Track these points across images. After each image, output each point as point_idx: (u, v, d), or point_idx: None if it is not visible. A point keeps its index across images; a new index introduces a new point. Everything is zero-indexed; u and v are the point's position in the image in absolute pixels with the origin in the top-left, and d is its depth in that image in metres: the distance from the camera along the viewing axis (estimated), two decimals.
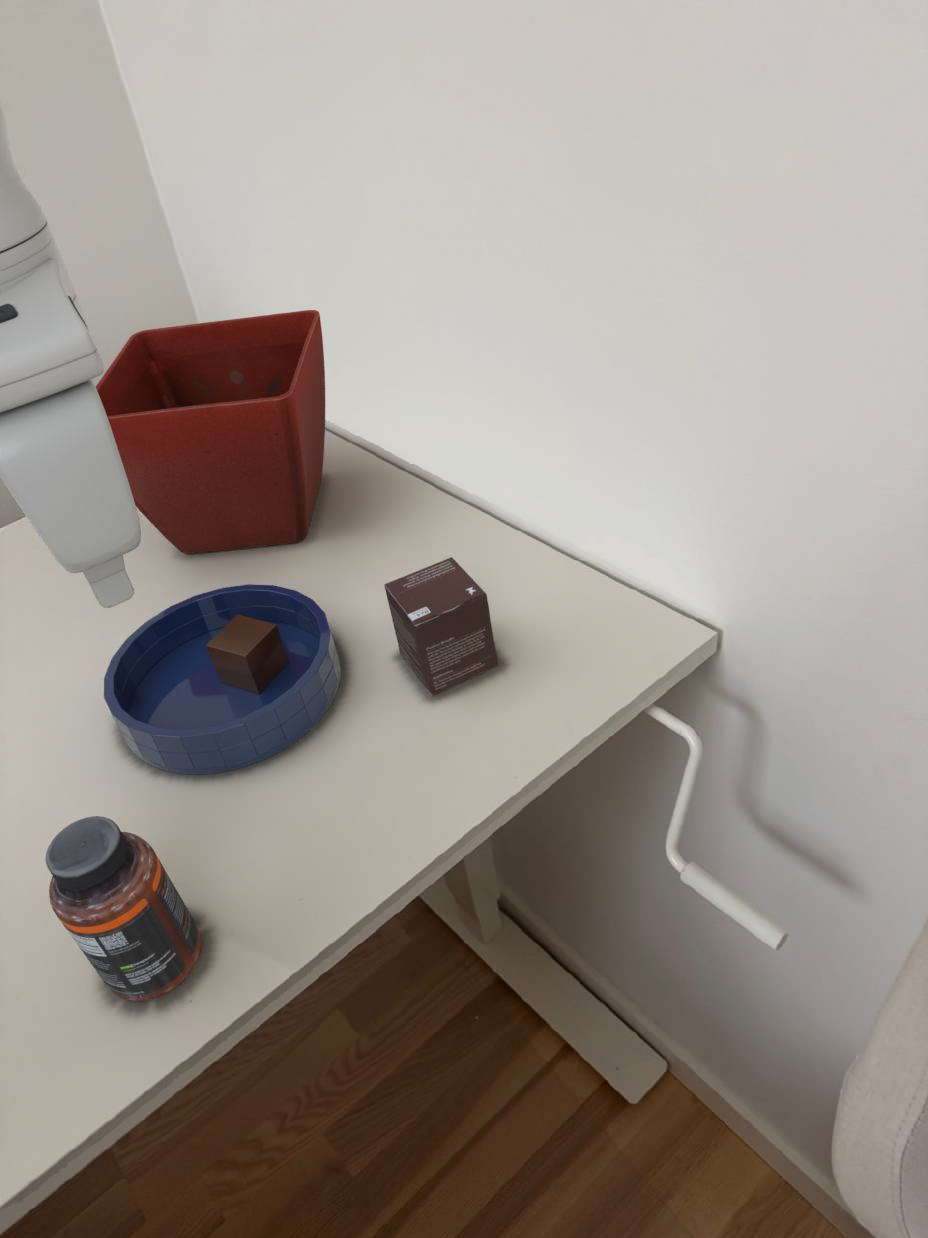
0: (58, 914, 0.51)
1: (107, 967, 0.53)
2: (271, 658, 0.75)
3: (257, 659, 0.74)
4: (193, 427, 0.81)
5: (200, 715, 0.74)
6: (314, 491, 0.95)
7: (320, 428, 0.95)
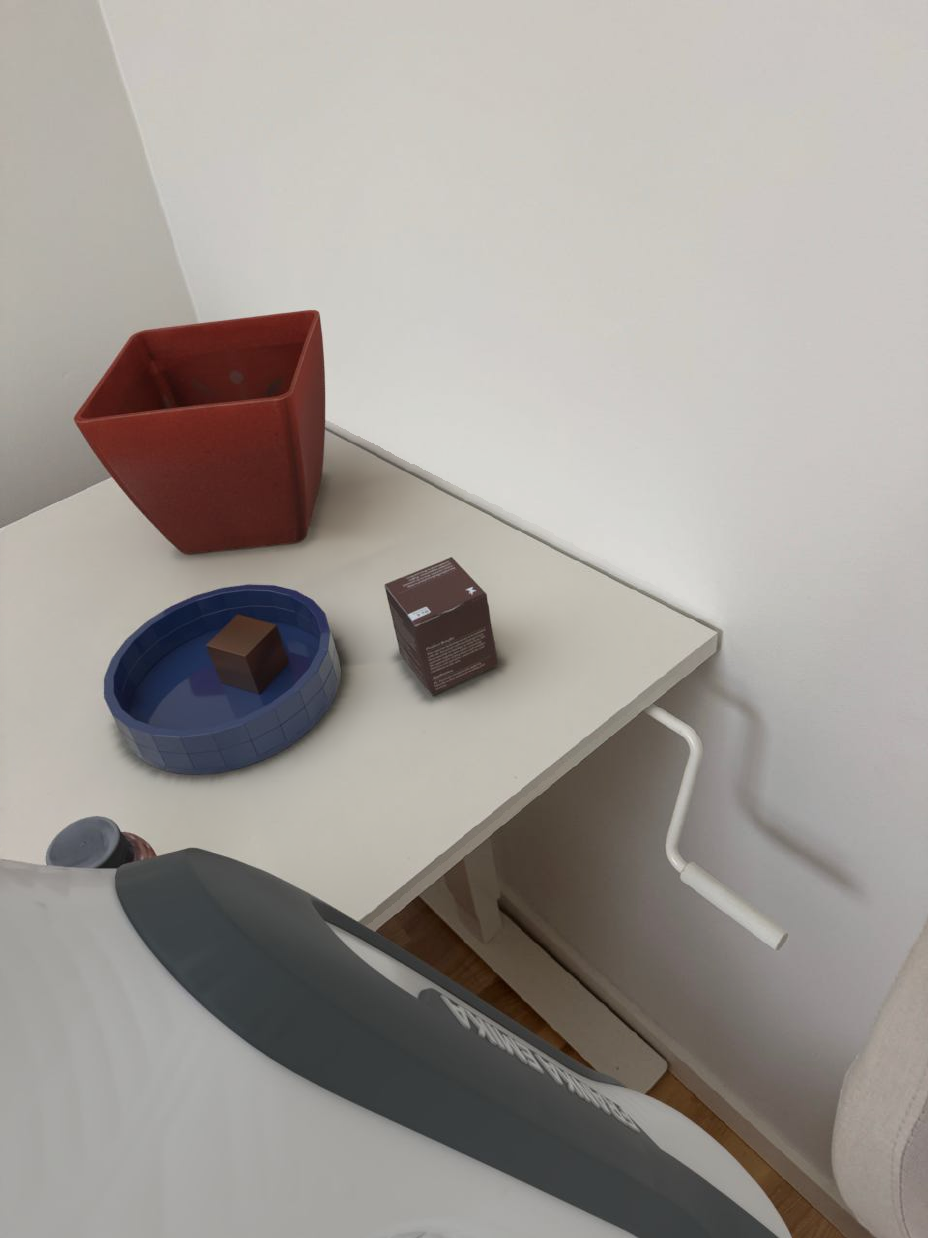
0: None
1: None
2: (271, 658, 0.75)
3: (257, 659, 0.74)
4: (193, 427, 0.81)
5: (200, 715, 0.74)
6: (314, 491, 0.95)
7: (320, 428, 0.95)
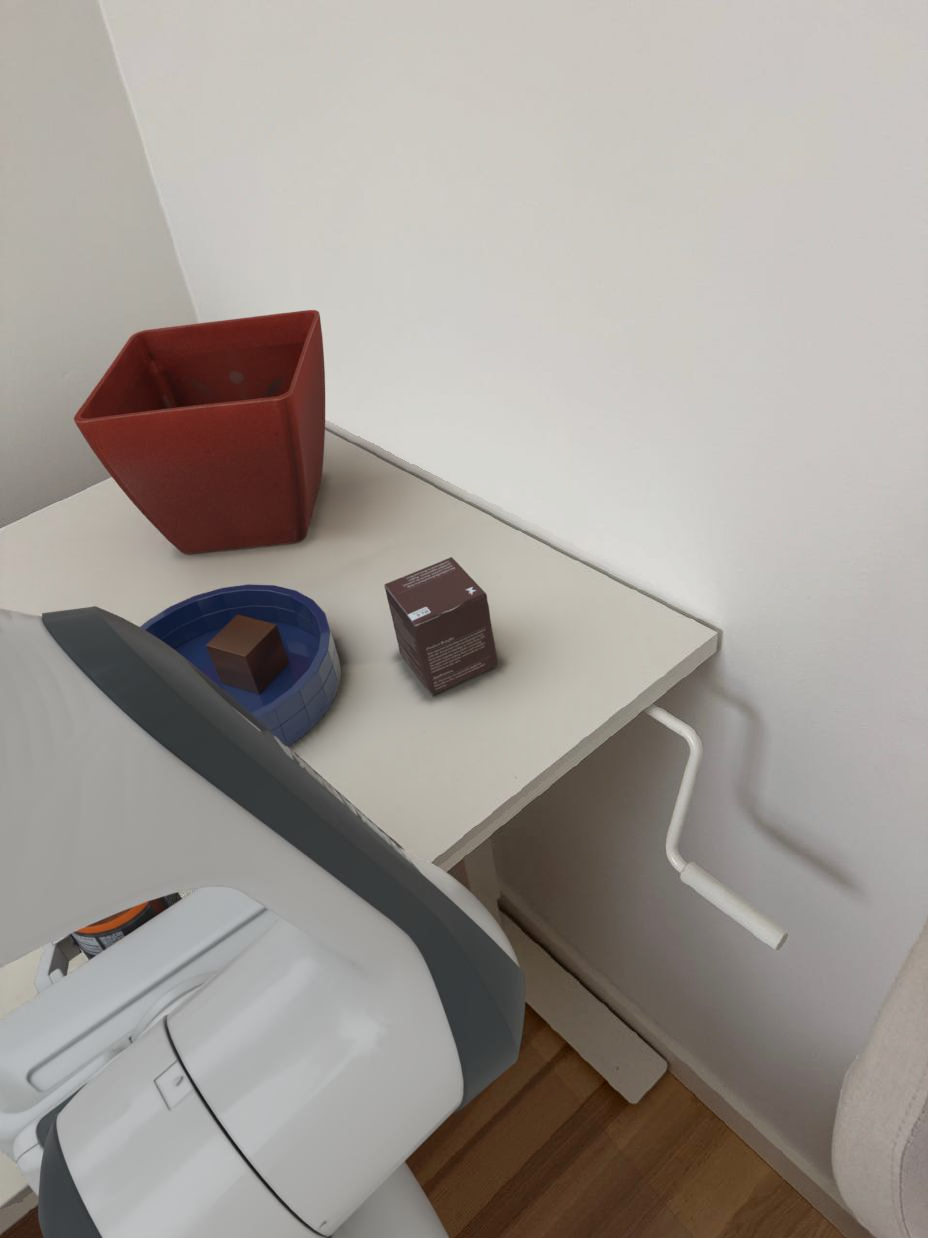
0: None
1: None
2: (271, 658, 0.75)
3: (257, 659, 0.74)
4: (193, 427, 0.81)
5: None
6: (314, 491, 0.95)
7: (320, 428, 0.95)
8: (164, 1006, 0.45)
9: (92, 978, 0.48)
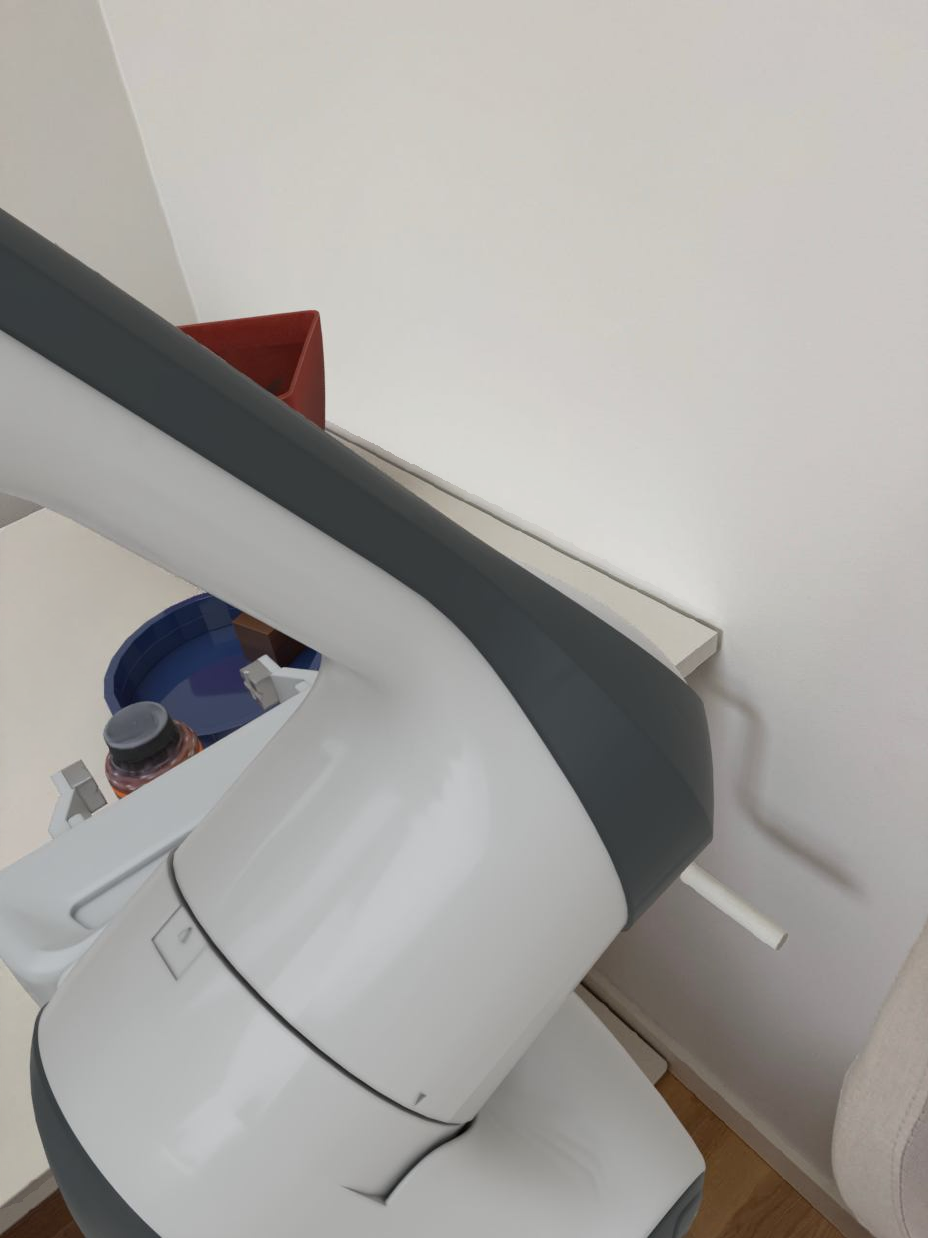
0: (114, 784, 0.58)
1: None
2: None
3: (280, 638, 0.75)
4: None
5: (200, 715, 0.74)
6: None
7: None
8: None
9: (150, 803, 0.38)
